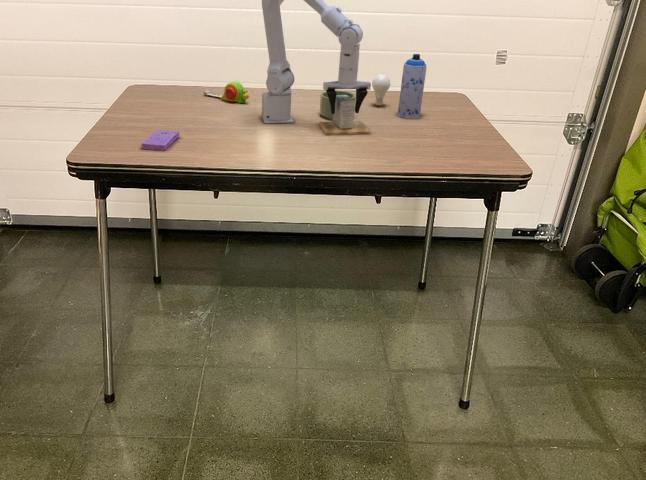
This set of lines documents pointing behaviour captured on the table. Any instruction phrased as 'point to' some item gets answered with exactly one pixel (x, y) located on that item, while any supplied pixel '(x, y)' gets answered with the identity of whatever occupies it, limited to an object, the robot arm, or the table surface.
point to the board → (333, 129)
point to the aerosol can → (412, 88)
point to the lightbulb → (380, 87)
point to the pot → (325, 103)
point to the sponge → (160, 140)
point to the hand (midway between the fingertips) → (344, 112)
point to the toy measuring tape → (232, 93)
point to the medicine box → (344, 112)
